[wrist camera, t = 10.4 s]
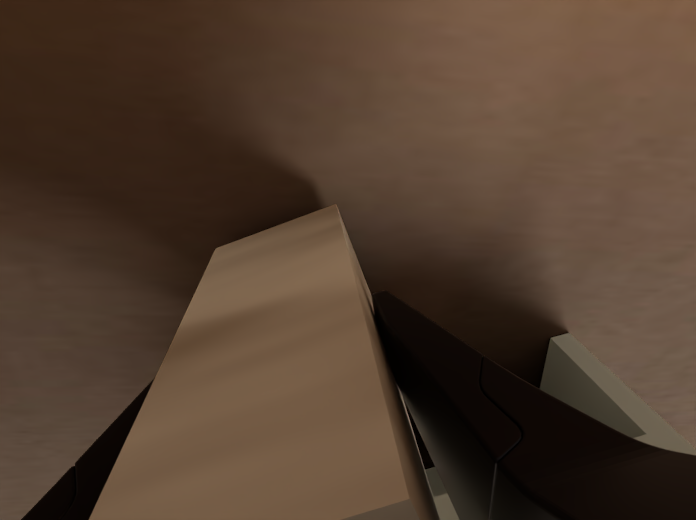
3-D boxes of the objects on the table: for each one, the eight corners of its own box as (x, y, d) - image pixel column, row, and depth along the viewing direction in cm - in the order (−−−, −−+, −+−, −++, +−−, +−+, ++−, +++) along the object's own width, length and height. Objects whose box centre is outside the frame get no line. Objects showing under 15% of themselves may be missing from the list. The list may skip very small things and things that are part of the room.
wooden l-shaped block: (436, 465, 19) (515, 699, 12) (369, 485, 19) (407, 727, 12) (336, 203, 10) (409, 498, 3) (215, 248, 10) (47, 607, 4)
